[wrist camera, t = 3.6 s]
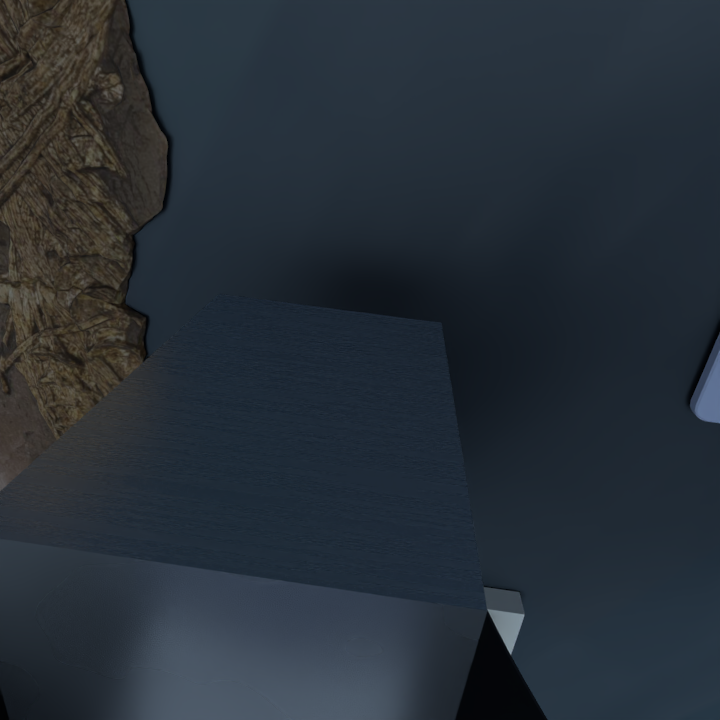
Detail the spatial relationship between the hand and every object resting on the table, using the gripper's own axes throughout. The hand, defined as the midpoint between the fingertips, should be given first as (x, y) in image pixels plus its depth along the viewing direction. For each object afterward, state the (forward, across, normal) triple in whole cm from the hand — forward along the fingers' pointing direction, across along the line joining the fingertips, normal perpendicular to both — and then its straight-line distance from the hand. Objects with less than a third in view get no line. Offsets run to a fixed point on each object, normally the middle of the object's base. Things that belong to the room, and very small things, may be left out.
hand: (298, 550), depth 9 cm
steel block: (+2, 0, 0) cm, 2 cm away
